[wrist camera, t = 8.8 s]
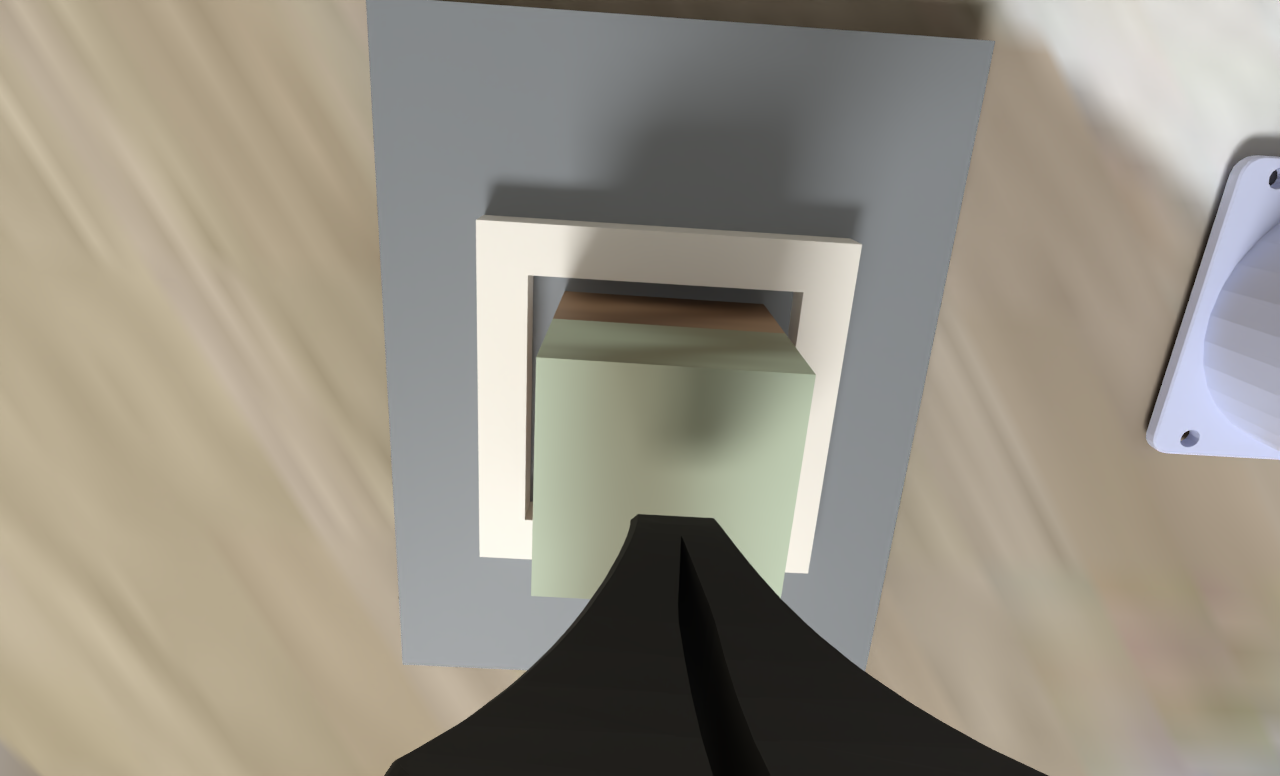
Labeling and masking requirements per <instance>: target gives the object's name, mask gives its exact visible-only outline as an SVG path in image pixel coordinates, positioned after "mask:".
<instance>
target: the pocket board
mask: <svg viewBox="0 0 1280 776" xmlns="http://www.w3.org/2000/svg"><path fill="white" fill-rule="evenodd" d="M366 7H367V25H368V43H369V61H370V80H371V98H372V116H373V134H374V152H375V170H376V188H377V206H378V225H379V243H380V261H381V279H382V297H383V315H384V333H385V351H386V370H387V388H388V406H389V424H390V442H391V460H392V478H393V496H394V515H395V533H396V551H397V569H398V587H399V605H400V623H401V642H402V660H403V664H405V665H427V666H448V667H469V668H491V669H512V670H528V669H529V668H530V667H532V666H533V665H534V664H535V663H536V662H537V661H538V660H539V659H540V658H541V657H542V656H543V655H544V654H545V653H546V652H547V651H548V650H549V649H550V648H551V647H552V646H553V645H554V644H555V643H556V642H557V640H558V639H559V638H560V637H561V636H562V635H563V634H564V633H565V632H566V630H567V629H568V628H569V627H570V626H571V625H572V623H573V622H574V621H575V620H576V618H577V617H578V616H579V615H580V613H581V612H582V611H583V609H584V608H585V606H586V605H587V604H588V602H589V601H590V599H579V598H560V597H541V596H531V575H532V528H533V481H534V434H535V387H536V356H537V354H538V352H539V349H540V347H541V345H542V343H543V340H544V338H545V336H546V333H547V331H548V329H549V326H550V324H551V322H552V319H553V317H554V315H555V312H556V310H557V308H558V305H559V303H560V301H561V299H562V296H563V294H564V292H565V291H570V292H586V293H601V294H616V295H632V296H647V297H662V298H677V299H693V300H708V301H723V302H739V303H754V304H764V305H765V307H766V308H767V309H768V311H769V312H770V314H771V315H772V316H773V318H774V319H775V320H776V322H777V323H778V324H779V326H780V327H781V328H782V330H783V331H784V332H785V334H786V335H787V336H788V338H789V339H790V341H791V342H792V343H793V345H794V346H795V347H796V349H797V350H798V351H799V353H800V354H801V355H802V357H803V358H804V359H805V361H806V362H807V363H808V365H809V366H810V368H811V369H812V370H813V372H814V373H815V374H816V377H815V384H814V390H813V397H812V403H811V409H810V416H809V422H808V428H807V435H806V441H805V448H804V454H803V460H802V467H801V473H800V479H799V486H798V492H797V499H796V505H795V511H794V518H793V524H792V530H791V537H790V543H789V549H788V556H787V562H786V569H785V575H784V581H783V588H782V594H781V599H782V600H783V601H784V602H785V603H786V604H787V605H788V606H789V607H790V608H791V609H792V610H793V611H794V612H795V613H796V614H797V615H798V616H799V617H800V618H801V619H802V620H803V621H804V622H805V623H806V624H807V625H808V626H810V627H811V628H812V629H813V630H814V631H815V632H816V633H817V634H819V635H820V636H821V637H822V638H823V639H824V640H826V641H827V642H828V643H829V644H831V645H832V646H833V647H834V648H835V649H837V650H838V651H839V652H840V653H842V654H843V655H844V656H845V657H847V658H848V659H849V660H850V661H851V662H853V663H854V664H855V665H857V666H858V667H859V668H861V669H862V670H863V671H865V669H866V664H867V660H868V655H869V650H870V645H871V640H872V635H873V631H874V626H875V621H876V616H877V611H878V606H879V601H880V597H881V592H882V587H883V582H884V577H885V572H886V568H887V563H888V558H889V553H890V548H891V543H892V538H893V534H894V529H895V524H896V519H897V514H898V509H899V505H900V500H901V495H902V490H903V485H904V480H905V475H906V471H907V466H908V461H909V456H910V451H911V446H912V441H913V437H914V432H915V427H916V422H917V417H918V412H919V408H920V403H921V398H922V393H923V388H924V383H925V378H926V374H927V369H928V364H929V359H930V354H931V349H932V345H933V340H934V335H935V330H936V325H937V320H938V315H939V311H940V306H941V301H942V296H943V291H944V286H945V282H946V277H947V272H948V267H949V262H950V257H951V252H952V248H953V243H954V238H955V233H956V228H957V223H958V218H959V214H960V209H961V204H962V199H963V194H964V189H965V185H966V180H967V175H968V170H969V165H970V160H971V155H972V151H973V146H974V141H975V136H976V131H977V126H978V122H979V117H980V112H981V107H982V102H983V97H984V92H985V88H986V83H987V78H988V73H989V68H990V63H991V59H992V54H993V49H994V44H995V41H988V40H974V39H960V38H947V37H933V36H919V35H905V34H891V33H878V32H864V31H850V30H836V29H822V28H809V27H795V26H781V25H767V24H753V23H740V22H726V21H712V20H698V19H684V18H671V17H657V16H643V15H629V14H615V13H602V12H588V11H574V10H560V9H546V8H533V7H519V6H505V5H491V4H477V3H464V2H450V1H436V0H366Z"/></svg>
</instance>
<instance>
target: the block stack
mask: <svg viewBox="0 0 1280 776" xmlns="http://www.w3.org/2000/svg"><path fill="white" fill-rule="evenodd" d="M815 377H816V374H815V373H814V372H813V370H812V369H811V368H810V366H809V365H808V363H807V362H806V361H805V359H804V358H803V357H802V355H801V354H800V353H799V351H798V350H797V349H796V347H795V346H794V345H793V343H792V342H791V341H790V339H789V338H788V336H787V335H786V334H785V332H784V331H783V330H782V328H781V327H780V326H779V324H778V323H777V322H776V320H775V319H774V318H773V316H772V315H771V314H770V312H769V311H768V309H767V308H766V307H765V305H764V304H754V303H739V302H723V301H708V300H693V299H677V298H662V297H647V296H632V295H616V294H601V293H586V292H570V291H565V292H564V294H563V296H562V299H561V301H560V303H559V305H558V308H557V310H556V312H555V315H554V317H553V319H552V322H551V324H550V326H549V329H548V331H547V333H546V336H545V338H544V340H543V343H542V345H541V347H540V349H539V352H538V354H537V356H536V387H535V434H534V481H533V528H532V575H531V596H541V597H560V598H579V599H591V598H592V597H593V595H594V594H595V592H596V591H597V589H598V588H599V587H600V585H601V584H602V582H603V581H604V579H605V577H606V576H607V574H608V572H609V570H610V569H611V567H612V565H613V563H614V562H615V560H616V558H617V556H618V554H619V552H620V550H621V548H622V546H623V544H624V542H625V539H626V537H627V534H628V531H629V528H630V520H631V519H632V518H634V517H635V516H636V515H637V514H648V515H666V516H685V517H703V518H714V519H715V520H716V521H717V522H718V523H719V525H720V526H721V527H722V528H723V530H724V531H725V532H726V534H727V535H728V536H729V538H730V539H731V540H732V541H733V543H734V544H735V545H736V547H737V548H738V549H739V550H740V552H741V553H742V554H743V555H744V557H745V558H746V559H747V560H748V562H749V563H750V564H751V565H752V566H753V568H754V569H755V570H756V571H757V572H758V574H759V575H760V576H761V577H762V578H763V579H764V580H765V581H766V583H767V584H768V585H769V586H770V587H771V588H772V589H773V591H774V592H775V593H776V594H777V595H778V596H779V597H780V598H781V594H782V588H783V581H784V575H785V569H786V562H787V556H788V549H789V543H790V537H791V530H792V524H793V518H794V511H795V505H796V499H797V492H798V486H799V479H800V473H801V467H802V460H803V454H804V448H805V441H806V435H807V428H808V422H809V416H810V409H811V403H812V397H813V390H814V384H815Z"/></svg>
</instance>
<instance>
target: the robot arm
mask: <svg viewBox="0 0 1280 776" xmlns="http://www.w3.org/2000/svg"><path fill="white" fill-rule="evenodd" d="M1275 170H1276V171H1277V179H1276V181H1275V182H1274V184H1272V185H1271V186H1270V185H1269V177H1270V175H1271V174H1272V172H1273V171H1275ZM1187 431H1189V435H1188V436H1187V438H1185V439H1184V440H1182V441H1181V437H1182V435H1183V434H1184V433H1185V432H1187ZM1146 439H1147V442H1148V444H1149V445H1151V446H1152V447H1153V448H1155V449H1156V450H1158V451H1160V452H1163V453H1172V454H1189V455H1207V456H1225V457H1242V458H1260V459H1278V460H1280V157H1277V156H1261V155H1254V156H1247V157H1246V158H1244V159H1242V160H1240V161H1239V162H1238V163H1237V164H1236V165H1235V166H1234V167H1233V169H1232V171H1231V173H1230V175H1229V178H1228V181H1227V184H1226V187H1225V190H1224V193H1223V196H1222V199H1221V202H1220V206H1219V209H1218V212H1217V215H1216V218H1215V221H1214V224H1213V227H1212V230H1211V233H1210V237H1209V240H1208V243H1207V246H1206V249H1205V252H1204V255H1203V258H1202V261H1201V265H1200V268H1199V271H1198V274H1197V277H1196V280H1195V283H1194V286H1193V289H1192V292H1191V296H1190V299H1189V302H1188V305H1187V308H1186V311H1185V314H1184V317H1183V320H1182V324H1181V327H1180V330H1179V333H1178V336H1177V339H1176V342H1175V345H1174V348H1173V352H1172V355H1171V358H1170V361H1169V364H1168V367H1167V370H1166V373H1165V376H1164V379H1163V383H1162V386H1161V389H1160V392H1159V395H1158V398H1157V401H1156V404H1155V407H1154V411H1153V414H1152V417H1151V420H1150V423H1149V426H1148V429H1147V433H1146ZM384 776H1048V775H1046V774H1044V773H1041V772H1039V771H1037V770H1035V769H1033V768H1031V767H1029V766H1026V765H1024V764H1022V763H1020V762H1018V761H1016V760H1014V759H1012V758H1009V757H1007V756H1005V755H1003V754H1001V753H999V752H997V751H995V750H993V749H991V748H989V747H987V746H985V745H983V744H981V743H979V742H977V741H976V740H974V739H972V738H970V737H968V736H967V735H965V734H963V733H961V732H959V731H958V730H956V729H954V728H952V727H951V726H949V725H947V724H945V723H943V722H942V721H940V720H938V719H936V718H935V717H933V716H931V715H930V714H928V713H927V712H925V711H923V710H922V709H920V708H918V707H917V706H915V705H913V704H912V703H910V702H909V701H907V700H906V699H904V698H903V697H901V696H900V695H898V694H897V693H895V692H894V691H892V690H891V689H889V688H888V687H886V686H885V685H883V684H882V683H880V682H879V681H878V680H876V679H875V678H873V677H872V676H870V675H869V674H868V673H866V672H865V671H863V670H862V669H861V668H859V667H858V666H857V665H855V664H854V663H853V662H851V661H850V660H849V659H848V658H847V657H845V656H844V655H843V654H842V653H840V652H839V651H838V650H837V649H835V648H834V647H833V646H832V645H831V644H829V643H828V642H827V641H826V640H824V639H823V638H822V637H821V636H820V635H819V634H817V633H816V632H815V631H814V630H813V629H812V628H811V627H810V626H808V625H807V624H806V623H805V622H804V621H803V620H802V619H801V618H800V617H799V616H798V615H797V614H796V613H795V612H794V611H793V610H792V609H791V608H790V607H789V606H788V605H787V604H786V603H785V602H784V601H783V600H782V599H781V598H780V597H779V596H778V595H777V594H776V593H775V592H774V591H773V589H772V588H771V587H770V586H769V585H768V584H767V583H766V581H765V580H764V579H763V578H762V577H761V576H760V575H759V574H758V572H757V571H756V570H755V569H754V568H753V566H752V565H751V564H750V563H749V562H748V560H747V559H746V558H745V557H744V555H743V554H742V553H741V552H740V550H739V549H738V548H737V547H736V545H735V544H734V543H733V541H732V540H731V539H730V538H729V536H728V535H727V534H726V532H725V531H724V530H723V528H722V527H721V526H720V525H719V523H718V522H717V521H716V520H715V519H714V518H703V517H685V516H666V515H648V514H637V515H636V516H635V517H634V518H632V519H631V520H630V528H629V531H628V534H627V537H626V539H625V542H624V544H623V546H622V548H621V550H620V552H619V554H618V556H617V558H616V560H615V562H614V563H613V565H612V567H611V569H610V570H609V572H608V574H607V576H606V577H605V579H604V581H603V582H602V584H601V585H600V587H599V588H598V589H597V591H596V592H595V594H594V595H593V597H592V598H591V599H590V601H589V602H588V604H587V605H586V606H585V608H584V609H583V611H582V612H581V613H580V615H579V616H578V617H577V618H576V620H575V621H574V622H573V623H572V625H571V626H570V627H569V628H568V629H567V630H566V632H565V633H564V634H563V635H562V636H561V637H560V638H559V639H558V640H557V642H556V643H555V644H554V645H553V646H552V647H551V648H550V649H549V650H548V651H547V652H546V653H545V654H544V655H543V656H542V657H541V658H540V659H539V660H538V661H537V662H536V663H535V664H534V665H533V666H532V667H530V668H529V669H528V670H527V671H526V672H525V673H524V674H523V675H522V676H521V677H520V678H519V679H517V680H516V681H515V682H514V683H513V684H512V685H510V686H509V687H508V688H507V689H505V690H504V691H503V692H502V693H500V694H499V695H498V696H496V697H495V698H494V699H492V700H491V701H490V702H488V703H487V704H486V705H484V706H483V707H482V708H480V709H479V710H478V711H476V712H475V713H474V714H473V715H471V716H470V717H468V718H467V719H466V720H464V721H463V722H461V723H459V724H458V725H456V726H455V727H453V728H451V729H449V730H448V731H446V732H444V733H443V734H441V735H439V736H438V737H436V738H434V739H432V740H431V741H429V742H427V743H426V744H424V745H422V746H420V747H419V748H417V749H415V750H414V751H412V752H410V753H408V754H406V755H404V756H403V757H401V758H399V759H397V760H396V761H394V762H393V763H392V765H391V766H390V768H389V769H388V771H387V772H386V774H385V775H384Z"/></svg>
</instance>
